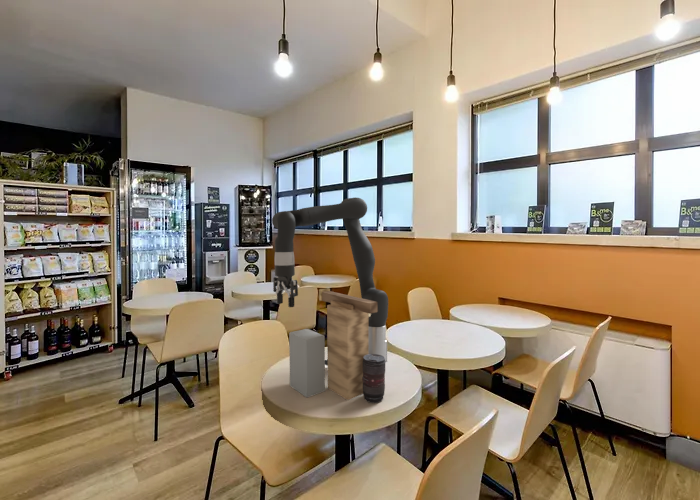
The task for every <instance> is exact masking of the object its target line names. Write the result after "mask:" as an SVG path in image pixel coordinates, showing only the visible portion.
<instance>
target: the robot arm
mask: <svg viewBox="0 0 700 500" xmlns="http://www.w3.org/2000/svg"><path fill="white" fill-rule="evenodd" d="M367 212H368V204H367V203H366V201H365V200H364V199H362V198H360V197H349V198H345V199H343V200H342V201H341V202H340V203H335V204H326V205H325V204H324V205H317V206H316V205H315V206H308V207H302V208H299V209H295V210H283V211H278V212H276V213H274V215H273V216H272V218H271V219H272V220H271V224H272V226H273V227H274V228H275V229H277V236H276V237H275V239H274V277H273V279H272V281H273V289H272V290H273V293H275V294H276V304H278V305H281V304H283V302H284V298H283V297H284V294H283V293H284V292H285V293H286V294H287V298H288V299H287V300H288V302H287V305H288V307H289V308H294V307H295V297H298V295H299V289H298V288H299V286H298V280H297V279H293V276H295V272H296V270H295V269H296V267H295V254H294V249H295V248H294V237H295V233H296V227H307V226H314V225H317V224H323V223H327V222H331V221H336V220H342V222H343V224H344V227H345V231H346V233H347V238H348V241H349V245H350V250H351V254H352V259H353V261H354V266H355V270H356V274H357V278H358V281H359V282H358V283H359V288H360V289H359V290H360V294H361V295H360V296H361V297H360V298H362V299H367V300H371V301H375V302H377V312H376V313H371V314H370V316H369V354H378V355H382V356H384V357H385V363H386V362H388V340H387V337H386V336H387V335H386V334H387V330H386V329H387V326H386V325H387V324H386V323H387V320H388V317H389V315H388V313H389V296H388V294H387V293H386V292H385V291H384V290H381V289H377V288H376V286H375V282H374V274H373V273H374V271H375V270H374V269H375V266H376V257H375V253H374V249H373V245H372V244H371V242H370V240H369V239H368V237H367V235H366V234H365V232H364V230H363V227H362V225H361V221H360V219H362V218H363V217H365V215H366V214H367Z"/></svg>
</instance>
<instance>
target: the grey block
mask: <svg viewBox="0 0 700 500" xmlns="http://www.w3.org/2000/svg"><path fill="white" fill-rule="evenodd" d="M288 336H289V337H288V338H289V339H288V342H289V345H288V346H289V352H288V353H289V387H291V388H292V389H294V390H295V391H296V392H298V393H299V394H301V395H303V397H305V398H309V397H312V396H315V395H317V394H320V393H323V392H325V391H326V368H325V360H326V357H325V354H326V352H325V350H326V347H325V345H326V344H325V343H326V342H325V335H323V334H321V333H318V332H316V331H314V330H312V329H310V328H304V329H300V330H295V331H294V330H293V331H291V332H289V334H288Z"/></svg>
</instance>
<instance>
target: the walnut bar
mask: <svg viewBox="0 0 700 500" xmlns="http://www.w3.org/2000/svg"><path fill="white" fill-rule="evenodd" d="M318 300H319V302H325V303H330V304H331V300H334V301H338V302H342V303H346V304H350V305H353V309H355V310H358V311H362V312H366V313H369V314H370V315H371V313H376V312H377V302H375V301H371V300H367V299H362V297H357V296H352V295H350V294H343V293H340V292H336V291H335V292H334V291H331V288H330V287H329V288H328V287H327V288H320V289H319V290H318Z"/></svg>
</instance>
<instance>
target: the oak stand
mask: <svg viewBox="0 0 700 500" xmlns="http://www.w3.org/2000/svg"><path fill="white" fill-rule="evenodd" d="M326 310H327V311H326V312H327V313H326V316H327V317H326V325H327V327H326V333H327V334H326V336H327V337H326V339H327V340H326V341H327V343H326V345H327V351H326V352H327V359H328V369H327V389H328V390H330V391H332V392H334V393H335V394H336V395H338V396H340V397H342V398H344V399H345V400H347V401H349V400H352V399H354V398H356V397H359V396H362V395H364V394H363V381H362V377H363V357H364V356H365V355H367V354H369V313H366V312H362V311H358V310H355V309H353V305H350V304H346V303H342V302H338V301H334V300H331V303H330V304H327V305H326Z"/></svg>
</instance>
